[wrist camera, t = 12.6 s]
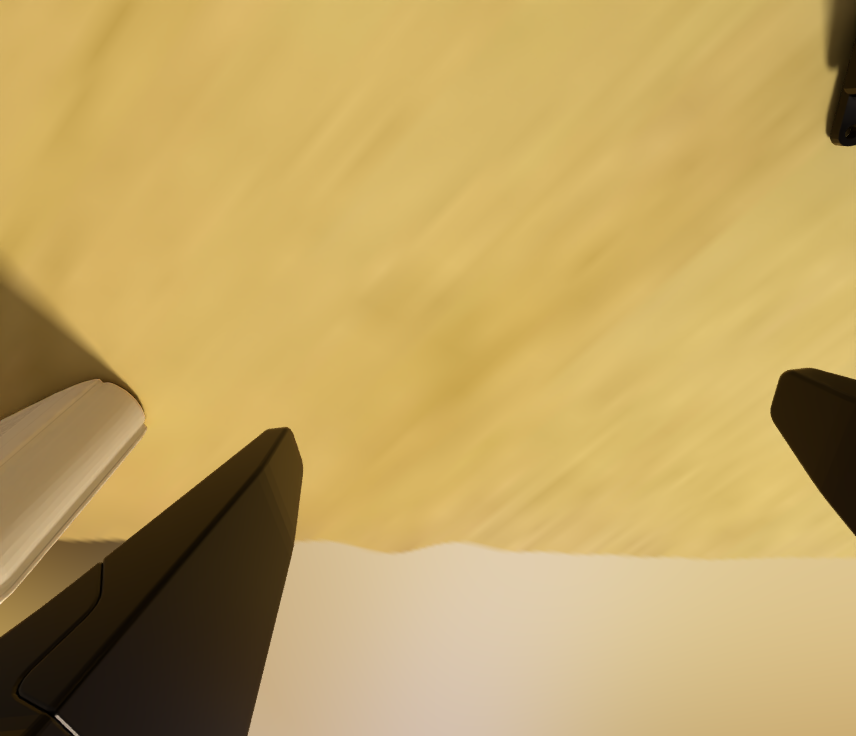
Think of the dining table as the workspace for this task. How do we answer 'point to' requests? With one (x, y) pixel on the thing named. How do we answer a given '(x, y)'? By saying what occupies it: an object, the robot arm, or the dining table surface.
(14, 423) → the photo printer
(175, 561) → the robot arm
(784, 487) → the dining table surface
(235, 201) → the dining table surface
